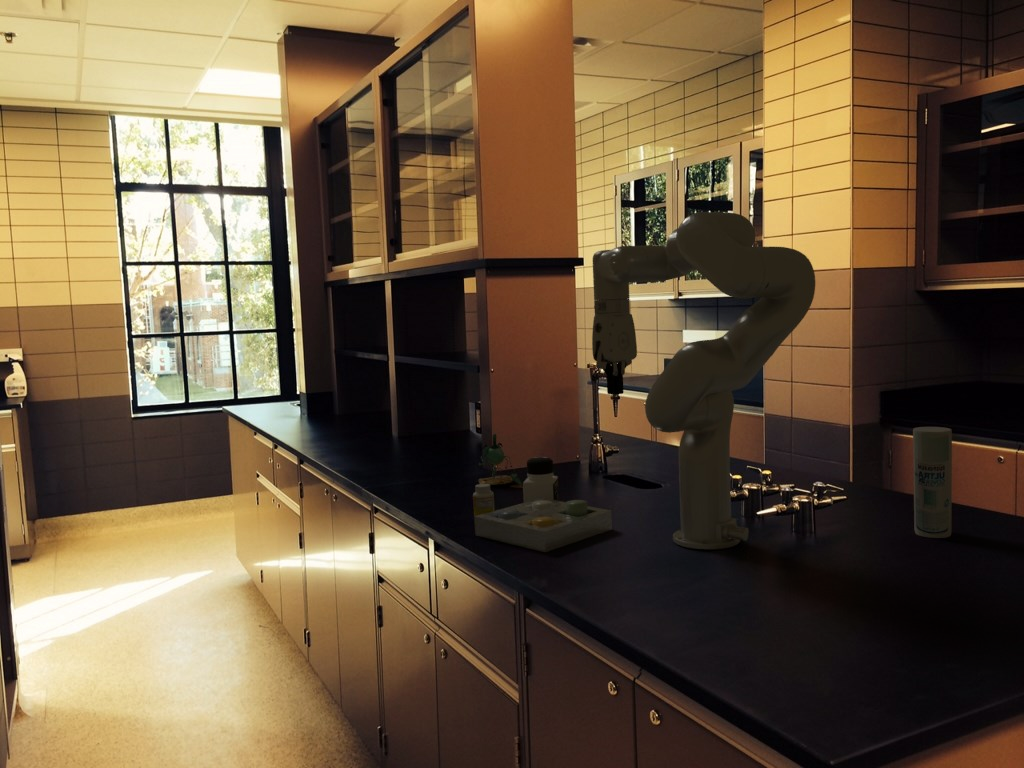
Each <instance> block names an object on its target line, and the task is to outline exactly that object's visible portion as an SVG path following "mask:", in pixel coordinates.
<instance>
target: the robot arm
mask: <svg viewBox="0 0 1024 768" xmlns="http://www.w3.org/2000/svg"><path fill="white" fill-rule="evenodd" d="M755 242H756V229H755V227H754V225H753V223H752V222H751V221H750V220H749V219H748V218H747V217H746V216H744V215H741V214H739V213H736V212H735V213H734V212H721V211H720V212H718V211H717V212H716V211H715V212H714V211H713V212H712V211H700V212H699V211H698V212H694V213H692V214H690V215H688V216H687V217H685V218H684V219H683V220H682V221H681V222H680V224H679V226H678V228H676V229H674V230H673V231H671V233H670V234H669V236H668V237H667V240H666V243H665V244H661V245H620V246H617V247H615V248H614V247H613V248H612V249H603V250H598V251H595V253H593V256H592V278H593V280H592V281H593V283H592V284H593V300H594V301H593V304H594V305H593V309H594V316H593V323H592V336H591V339H592V340H591V341H592V342H591V343H592V344H591V345H592V348H591V349H592V356H593V360H594V361H595V362H596V363H595V367H596V368H597V369H601V370H603V372H604V376H605V377H606V388H607V389H606V390H607V392H606V393H607V395H623V394H624V392H625V391H624V375H625V373H626V368H627V367H629V366H630V365H632V363H633V360H635V359H636V358H637V356H638V346H637V345H638V344H637V335H636V327H635V322H634V317H633V315H632V313H631V303H630V302H631V300H630V284H632V283H633V284H637V283H638V284H639V283H659V282H666V281H670V280H674V279H677V278H681V277H684V276H685V277H686V276H688V275H689V274H691V273H692V272H693V271H697V272H698V273H699V274H701V275H702V277H704V278H705V279H706V280H708V282H709V283H710V284H712V285H713V286H714V287H715V288H716V289H717V290H718V291H720V292H721V293H723V294H725V295H726V296H729V297H731V298H736V299H754V298H759V300H757V301H756V302H755V303H754V304H752V305H751V306H749V308H747V309H745V311H743V312H742V313H741V314H740V315H739V316H738V318H737V319H736V320H735V322H734V323H733V325H732V326H731V327H730V328H729V329H728V330H727V331H726V333H725V334H723V335H722V336H721V337H718V338H714V339H703V340H696V341H693V342H690V343H688V344H685V345H684V346H683V347H681V348H680V349H678V350H677V352H676V353H675V354H674V355H673V357H672V358H671V359H670V361H669V362H668V364H667V365H666V366H665V368H664V369H663V371H662V372H661V373H660V375H659V376H658V377H657V378H656V380H655V381H654V383H653V384H652V385H651V388H650V389H649V391H648V393H647V396H646V399H645V405H644V409H645V416H646V419H647V422H648V423H649V424H650V425H651V427H653V428H654V429H655V430H657V431H659V432H662V433H669V434H670V433H678V432H683V433H682V435H681V438H680V441H679V445H678V477H679V478H678V481H679V483H678V485H679V512H680V515H679V516H680V529H678V530H676V531H675V532H674V533H673V534H672V541H673V543H675V544H676V545H678V546H681V547H683V548H688V549H694V550H707V551H708V550H723V549H727V548H728V549H729V548H732V547H735V546H738V544H739V543H740V542H741V541H744V542H745V541H747V540H748V538H749V532H750V531H749V530H750V529H749V527H744V526H738V525H737V518H735V517H732V505H731V504H732V502H731V499H732V497H731V496H732V495H731V470H730V469H731V465H730V464H731V462H730V461H731V456H730V455H731V454H730V452H731V450H730V449H731V448H730V443H731V442H730V441H731V427H732V422H733V415H734V410H735V408H734V407H735V399H734V394H733V391H736V390H740V389H742V388H745V387H746V386H747V385H748V384H749V383H750V382H751V381H752V380H753V379H754V377H755V376H756V375H757V374H758V373H759V372H760V371H761V369H762V368H763V367H764V366H765V364H767V362H768V361H769V360H770V358H771V357H772V356H773V355H774V354H775V352H777V350H778V348H779V347H780V346H781V345H782V343H784V341H785V340H786V339H787V338H788V337H789V336H790V335H791V333H792V332H793V331H795V329H796V328H797V327H798V326H799V325H800V323H801V322H802V321H803V319H804V318H805V316H806V315H807V313H808V311H809V310H810V308H811V306H812V303H813V301H814V299H815V293H816V274H815V270H814V267H813V265H812V262H811V260H810V259H809V258H808V256H807V255H806V254H804V253H802V252H801V251H799V250H797V249H794V248H790V247H785V246H754V244H755Z"/></svg>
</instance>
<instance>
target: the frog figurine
mask: <svg viewBox="0 0 1024 768" xmlns="http://www.w3.org/2000/svg"><path fill="white" fill-rule="evenodd" d="M502 447H503V444H502V442H498V443H497V434H496V433H493V434H492V445H491V446H489V448H488V444H484V446H482V449H483V453H484V457H485V459H483V455H481V456H480V460H481V461H482V463H481V462H478V466H479V467H480V466H481V465H485V464H486V462H488V464H490V465H491V472H492V474H491V477H485V478H479V479H478V483H479V484H489V485H490V486H494V485H495V486H497V485H504V484H505V485H506V484H511V483H512V485H509V488H515V489H523V483H522V481H521V480H520V479H521V478H519V477H520V476H518V473H517V472H516V470H515V469H513V473H510V475H498V473H497V472H498V471H499V470H500V471H501V472H503V469H502V468H501V467H499V468H497V467H498V465H500V464H502V463H503V462H504V459H505V460H506V464H505V466H504V467H505V470H507V469H508V463H510V468H513V465H512V462H511V458H510V456H507V455H505V452H504V450H503V449H502ZM507 458H508V459H507ZM483 462H484V463H483ZM496 468H497V469H496Z"/></svg>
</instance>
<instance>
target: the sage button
mask: <svg viewBox="0 0 1024 768" xmlns="http://www.w3.org/2000/svg"><path fill="white" fill-rule="evenodd" d="M565 502H566V515H570V516H575V517H580V516H583V515H586V514H588V507H587V506H588V501H587V500H584V499H573V500H568V501H565Z"/></svg>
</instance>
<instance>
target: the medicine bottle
mask: <svg viewBox="0 0 1024 768" xmlns="http://www.w3.org/2000/svg"><path fill="white" fill-rule="evenodd" d="M526 473H527V474H526V476H527V478H525V480H524V481H523V483H522V486H523V488H522V495H523V496H522V497H523V503H525V502H529V501H532V500H536V499H540V498H545V499H550V500H556V501H560V491H559V489H560V488H559V476H557V475H555V474H554V461H553V459H552V458H549V457H547V456H536V457H531V458H529V459H528V460H527V461H526Z"/></svg>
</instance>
